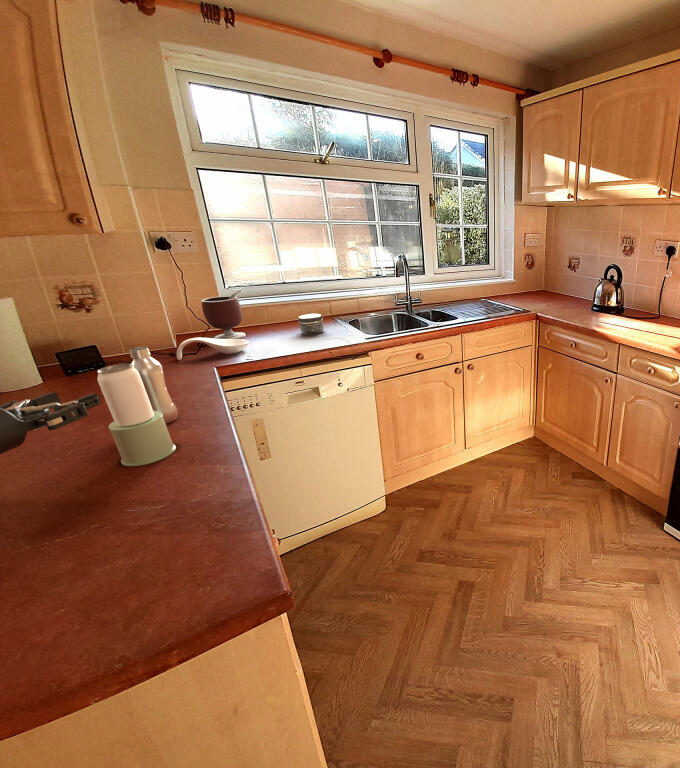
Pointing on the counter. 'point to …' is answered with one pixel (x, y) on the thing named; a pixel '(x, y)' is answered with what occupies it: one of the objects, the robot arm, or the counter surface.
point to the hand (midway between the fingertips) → (77, 397)
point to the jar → (311, 324)
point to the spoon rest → (217, 345)
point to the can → (125, 395)
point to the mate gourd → (224, 315)
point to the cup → (143, 441)
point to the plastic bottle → (153, 383)
